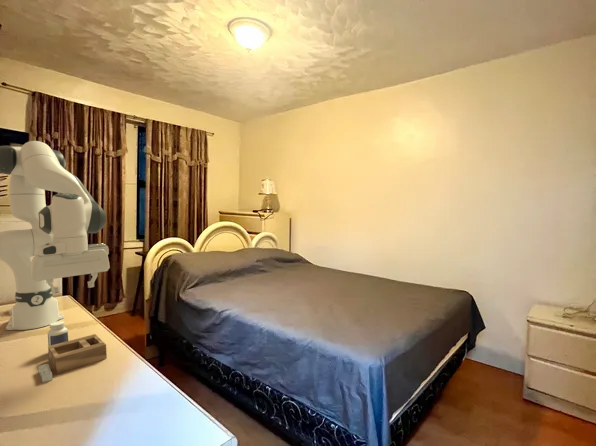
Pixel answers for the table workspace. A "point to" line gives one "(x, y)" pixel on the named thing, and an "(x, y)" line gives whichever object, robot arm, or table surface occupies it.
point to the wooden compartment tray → (76, 353)
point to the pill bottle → (57, 333)
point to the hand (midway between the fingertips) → (73, 290)
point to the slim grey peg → (45, 373)
